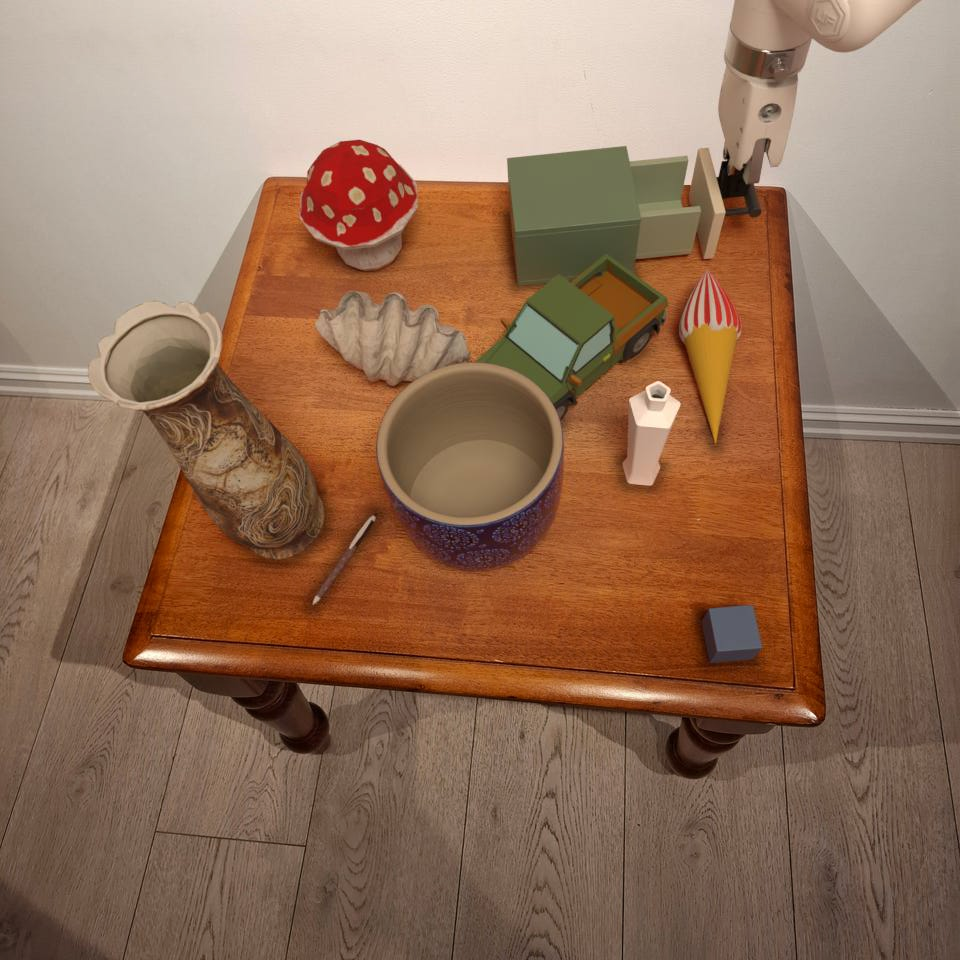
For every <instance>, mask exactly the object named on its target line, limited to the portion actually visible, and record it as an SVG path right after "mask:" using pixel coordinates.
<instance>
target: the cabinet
mask: <svg viewBox="0 0 960 960" xmlns="http://www.w3.org/2000/svg"><path fill="white" fill-rule="evenodd" d="M506 167H507V188H508V202H509V219H510V228H511V238H512V247H513V256H514V266H515V267H514V268H515V274H516V283H517V284H516V286H517V287H523V286H524V287H525V286H533V285H534V286H535V285H543V284H544V285H546V284H547V283H548V282H550V281H551V280H552V279H553V278H555V277H556V276H557V275H558V274H560V275H561V276H563V277H564V278H565V279H567V280H568V281H569V282H571V281H573V280H574V279H575V278H576V277H578V276H579V275H580V274H581V273H583V272H584V271H585V270H586V269H587V268H589V267H590V266H591V265H592V264H594V263H595V262H596V261H597V260H599V259H600V258H601V257H602V256H604V255H605V254H608V255H609V256H610V257H612V258H613V259H614V260H616V261H617V262H619V263H620V264H621V265H623V266H624V267H625V268H627V269H628V270H630V271H631V272H632V273H634V274H635V265H636V260H637V259H636V252H637V245H638V238H639V231H640V224H641V215H640V210H639V205H638V201H637V196H636V191H635V186H634V181H633V176H632V171H631V166H630V156H629V152H628V147H627V145H623V146H622V145H621V146H611V147H603V148H602V147H601V148H593V149H592V148H591V149H583V150H573V151H563V152H553V153H552V152H551V153H544V154H534V155H523V156H522V155H521V156H515V157H507V158H506Z"/></svg>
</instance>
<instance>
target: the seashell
mask: <svg viewBox="0 0 960 960" xmlns="http://www.w3.org/2000/svg"><path fill="white" fill-rule="evenodd" d="M408 303H409V302H408V299H407V297H405V296H404V295H403V294H402V293H400V292H398V291H392V292H390V293H389V294H387V295H386V296H385V297H383V300H382V302H381V304H378V303H377V302H375V301H374V300H373V298H372V297H371V295H370V294H368V293H367V292H364V291H357V290H349V291H348V292H346V293H345V294H344V295H343V296H342V297H341V298H340V299H339V302H338V304H337V307H336V308H333V309H321V310H320V311H319V315H318V318H317V319H316V321H315V323H314V329H315V330H316V331H317V333H318V334H319V335H320V336H321V337H322V338H323V339H324V340H325V341H326V342H327V343H328V344H329V345H330V346H331V347H332V348H333V349H335V351H337V352H338V353H340V355H341V357H342V358H343V359H344V361H346V362H347V363H348V364H350V365H352V366H353V367H354V368H356V369H358V370H360V371H363V372H364V374H365V377H366V378H367V380H368V381H369V382H370V383H376V382H378V381H379V380H383V381H385V383H386V384H387V386H390V387H394V386H397V385H398V384H400V383H401V382H402V381H404V382H413V381H414V380H416V379H418V378H419V377H421V376H423V375H424V374H426V373H428V372H431V371H433V370H435V369H438V368H441V367H444V366H448V365H453V364H458V363H468V362H469V361H470V360H471V352H470V350H469V349H468V346H467V337H466V335H465V333H463V331H461V330H459V329H458V328H456V327H454V326H453V325H448V324H440V322H439V320H440V318H439V317H440V316H439V312H438V310H437V309H436V307H434V306H433V305H432V304H422V305H420V306H418V307H417V309H415V310H411V309H410V307H409V304H408Z"/></svg>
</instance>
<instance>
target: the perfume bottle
mask: <svg viewBox="0 0 960 960" xmlns="http://www.w3.org/2000/svg"><path fill="white" fill-rule="evenodd" d="M671 391H672V389H671V388H670V387H669V386H667V385H666V384H665V383H663V382H662V381H660V380H657V381H654V382H653V383H651V384H649V385H647V386H645V390H643V391H641V392H639V393H638V394H635V395H633V396H631V397H630V398H629V400H628V423H627V424H628V425H627V426H628V427H627V450H626V451H627V454H626V458H625V459H624V460H623V461H622V464H621V465H622V468H623V471H624V475H625V480H626V483H628V484H630V485H639V486H649V487H650V486H653V485H654V483H655V481H656V478H657V476H658V474H659V472H660V469H661V465H660V462H659V461H660V458H661V455H662V454H663V450H664V448H665V446H666V444H667V441H668V437H669V435H670V433H671V430H672V427H673V426H674V423H675V420H676V417H677V416H678V413H679V409H680V407H681V402H680V401H679V400H678V399H676V398H675V397H674V396H672V395H671Z"/></svg>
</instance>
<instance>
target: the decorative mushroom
mask: <svg viewBox="0 0 960 960" xmlns="http://www.w3.org/2000/svg"><path fill="white" fill-rule="evenodd" d="M299 197H300V198H299V217H298V218H299V220H300V221H301V222H302V224H303V225H304V226H305V227H306V230H308V231H309V233H310V234H311V235H312V237H313V238H314V239H315V240H316V241H318V242H320V243H324V244H325V245H329V246H331V247H334V248H336V252H337V254H338V255H339V256H340V258H341V259H342V261H344V263H345V264H346V265H348V266H349V267H352V268H354V269H357V270H360V271H362V272H374V271H380V270H382V269H384V268H386V267H387V266H389V265H391V264H392V262H394V260H395V259H396V257H397V256H398V254H399V252H400V251H401V250H402V248H403V234H402V233H403V231H404V230H405V228H406V227H407V226H408V224H409V222H410V221H411V220H412V219H413V217H414V215H415V214H416V212H417V210H418V208H419V204H418V203H419V202H418V201H419V200H418V183H417V181H416V180H415V179H414V178H413V177H412V176H411V175H410V173H409V172H407V170H406V169H405V168H404V167H403V166H402V164H400V163H398V162H397V161H396V160H395V159H394V158H393V156H392V155H391V154H390V153H389V151H387V149H386V148H384V147H382V146H380V145H378V144H375V143H372V142H369V141H366V140H362V139H351V140H340V141H337V142H336V143H334V144H332V145H330V146H328V147H326V148H324V149H322V150H321V152H320V154H318V156H317V157H316V159H315V160H314V161H313V162H312V164H310V166H309V168H308V170H307V173H306V184H305V187H304V188H303V190H302V191H301V193H300V196H299Z"/></svg>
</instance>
